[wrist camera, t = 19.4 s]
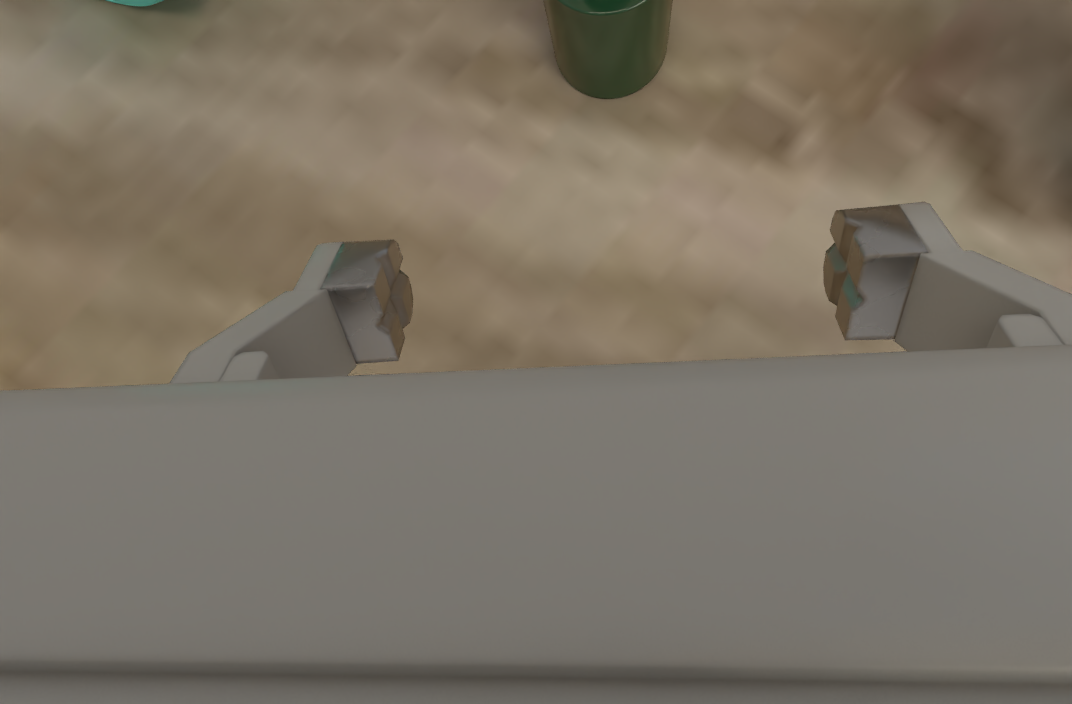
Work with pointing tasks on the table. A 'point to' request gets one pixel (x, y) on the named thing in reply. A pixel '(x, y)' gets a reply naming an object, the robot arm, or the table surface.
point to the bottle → (609, 43)
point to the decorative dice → (136, 2)
